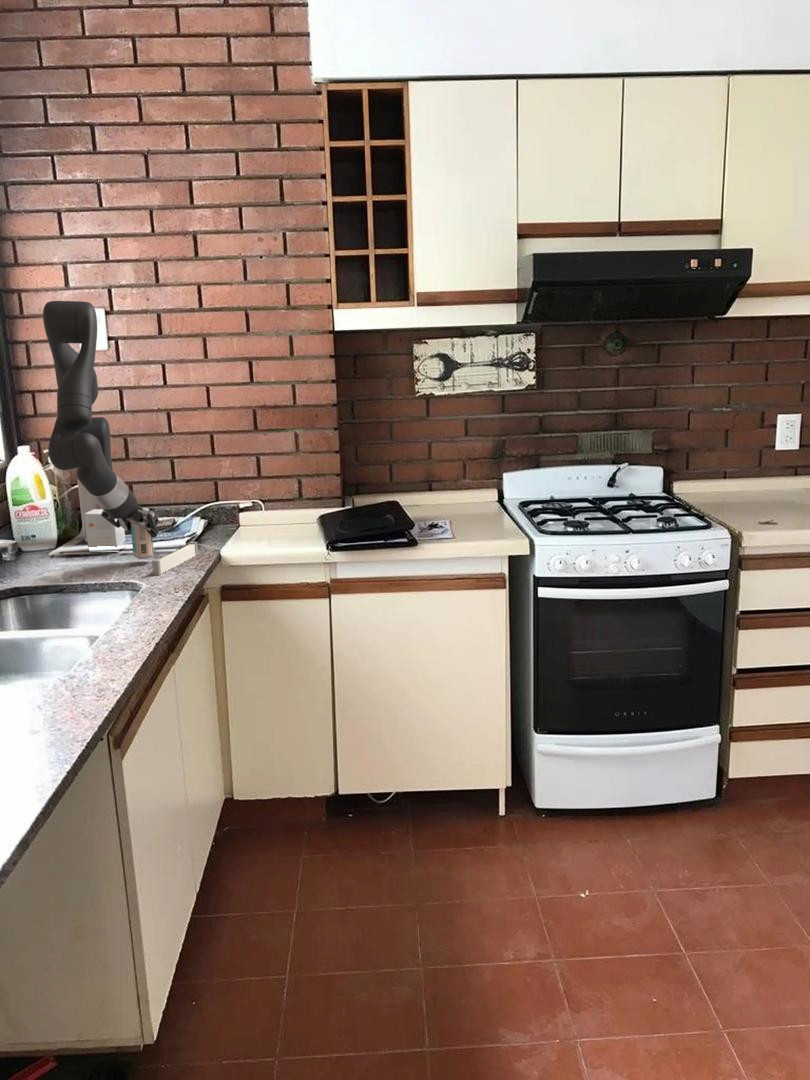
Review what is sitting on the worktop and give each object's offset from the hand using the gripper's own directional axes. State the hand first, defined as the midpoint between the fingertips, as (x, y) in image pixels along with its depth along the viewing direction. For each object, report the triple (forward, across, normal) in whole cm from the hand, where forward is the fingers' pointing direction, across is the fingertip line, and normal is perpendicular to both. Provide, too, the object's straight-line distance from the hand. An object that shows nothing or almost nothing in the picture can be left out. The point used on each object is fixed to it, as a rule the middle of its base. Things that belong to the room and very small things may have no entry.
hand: (146, 533), depth 209 cm
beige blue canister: (+3, 0, +5) cm, 6 cm away
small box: (+10, +16, 0) cm, 19 cm away
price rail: (+4, -9, +6) cm, 11 cm away
